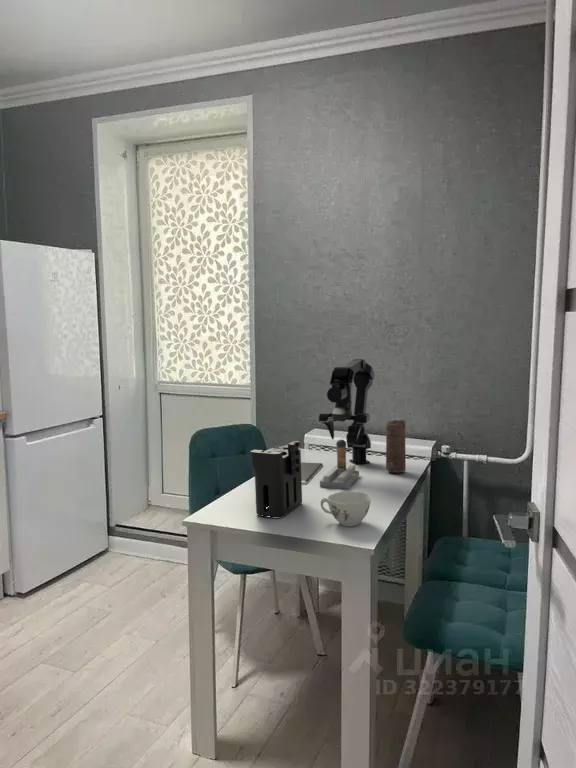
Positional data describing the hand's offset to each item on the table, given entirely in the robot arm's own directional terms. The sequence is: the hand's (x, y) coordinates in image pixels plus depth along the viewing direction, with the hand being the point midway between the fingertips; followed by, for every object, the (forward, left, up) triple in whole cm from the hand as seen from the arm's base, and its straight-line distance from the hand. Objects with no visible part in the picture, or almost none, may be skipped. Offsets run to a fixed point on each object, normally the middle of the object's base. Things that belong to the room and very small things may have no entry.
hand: (344, 439), depth 221 cm
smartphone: (-7, -17, -14) cm, 23 cm away
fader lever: (+7, -4, -11) cm, 14 cm away
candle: (+7, +18, -13) cm, 24 cm away
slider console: (+9, -6, -13) cm, 17 cm away
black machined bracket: (+30, -34, -13) cm, 47 cm away
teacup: (+49, -21, -13) cm, 55 cm away
